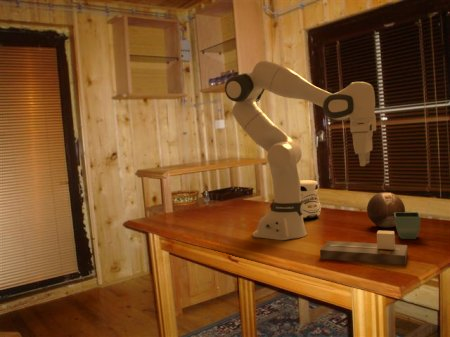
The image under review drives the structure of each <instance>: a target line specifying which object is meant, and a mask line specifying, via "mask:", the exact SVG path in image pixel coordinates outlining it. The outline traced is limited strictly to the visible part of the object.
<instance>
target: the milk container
mask: <svg viewBox="0 0 450 337" xmlns="http://www.w3.org/2000/svg"><path fill="white" fill-rule="evenodd" d="M299 180H300V188H301V201H302V205H303V214H302V216H303V220H311V219H315V218H318V217H319V216H320V215H321V211H322V208H321V203H320V199H319V184H318V181H316V180H314V179H313V180H311V179H309V180H308V179H305V180H303V179H302V180H301V179H299Z"/></svg>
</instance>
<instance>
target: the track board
mask: <svg viewBox="0 0 450 337" xmlns="http://www.w3.org/2000/svg"><path fill="white" fill-rule="evenodd" d="M319 252H320V254H319V256H320V260H331V261H332V260H333V261H343V262H344V261H345V262H358V263H359V262H360V263H369V264H370V263H372V264H384V265H385V264H387V265H397V266H406V265H407V260H408V255H407V254H408V253H409V252H408V245H407V244H395V248H394V250H391V249H377V242H376V243H373V242H372V243H370V242H355V241H338V240H327V242H326V243H325V244H323V246H322V247H321V248H320V250H319Z"/></svg>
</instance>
